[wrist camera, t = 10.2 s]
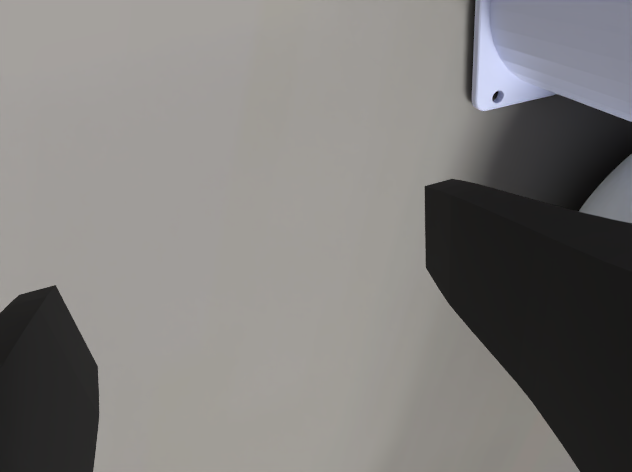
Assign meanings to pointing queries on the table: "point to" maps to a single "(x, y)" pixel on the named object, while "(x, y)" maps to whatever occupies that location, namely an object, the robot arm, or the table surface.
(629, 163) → the serving bowl
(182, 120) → the table surface
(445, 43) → the table surface
